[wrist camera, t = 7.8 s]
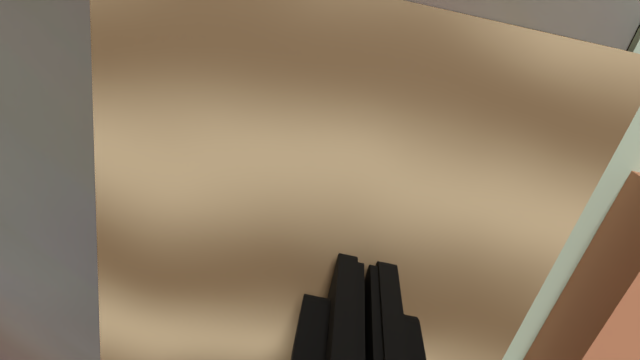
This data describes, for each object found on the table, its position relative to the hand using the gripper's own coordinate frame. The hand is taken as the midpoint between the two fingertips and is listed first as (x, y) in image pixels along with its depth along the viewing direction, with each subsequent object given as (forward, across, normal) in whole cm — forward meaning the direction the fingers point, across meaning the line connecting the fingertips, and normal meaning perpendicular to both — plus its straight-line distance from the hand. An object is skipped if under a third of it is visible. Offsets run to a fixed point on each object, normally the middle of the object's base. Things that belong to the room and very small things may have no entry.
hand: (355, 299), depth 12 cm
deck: (+5, +1, 0) cm, 5 cm away
